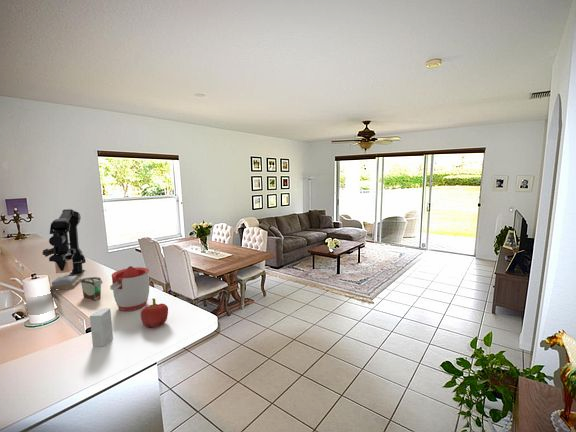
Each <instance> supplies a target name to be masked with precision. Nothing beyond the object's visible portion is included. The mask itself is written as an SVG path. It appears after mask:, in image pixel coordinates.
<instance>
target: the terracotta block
mask: <svg viewBox="0 0 576 432" xmlns="http://www.w3.org/2000/svg"><path fill="white" fill-rule="evenodd" d="M54 266H55V273H56V274H64V273H71V272H72V270H73V260H72V259H68V260H67V261H66V264H65V267H64V270H63V271H61V270H60V268H59V266H58V265H57V263H56V262H54Z"/></svg>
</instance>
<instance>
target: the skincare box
mask: <svg viewBox="0 0 576 432" xmlns="http://www.w3.org/2000/svg"><path fill="white" fill-rule="evenodd" d="M89 321H90V322H89V323H90V332H91V343H92V347H106V345H107V344H108V343H109V342H110V341H111V340H112V339H113V338H114V333H113V324H112V323H113V322H112V312H111V308H106V307H105V308H98V309H97V310H96V311H95V312H93V313H92V314H90V315H89Z"/></svg>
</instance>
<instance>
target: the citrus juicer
mask: <svg viewBox="0 0 576 432" xmlns="http://www.w3.org/2000/svg"><path fill="white" fill-rule="evenodd" d="M149 272H150V269H149V268H146V267H141V266H140V267H139V266H138V267H134V266H131V265H130V266H128V267H127V268H123V269H121V270H117V271H114V272H113V273H112V274H111V276H110V277H111V280H112V281H111V282H112V284H111V285H110V290H111V291H112V293H113V298H114V302H115V303H116V306H117V308H118V309H119V310H121V311H125V312H126V311H130V310H132V311H134V310H138V309H141V308H144V307H145V306H146V305H147V303H148V300H149V297H150V296H149V295H150V281H149V280H150V277H149Z"/></svg>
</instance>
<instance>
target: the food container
mask: <svg viewBox="0 0 576 432" xmlns="http://www.w3.org/2000/svg"><path fill="white" fill-rule="evenodd" d="M80 279H81V282H80V284H81V289H82V296H83V298H84V299H86V300H89V301H93V302H97V301H99V300H100V299H101V298H102V297H101V295H102V284H103V279H102V278H101V277H99V276H92V277H84V278H80Z"/></svg>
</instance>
